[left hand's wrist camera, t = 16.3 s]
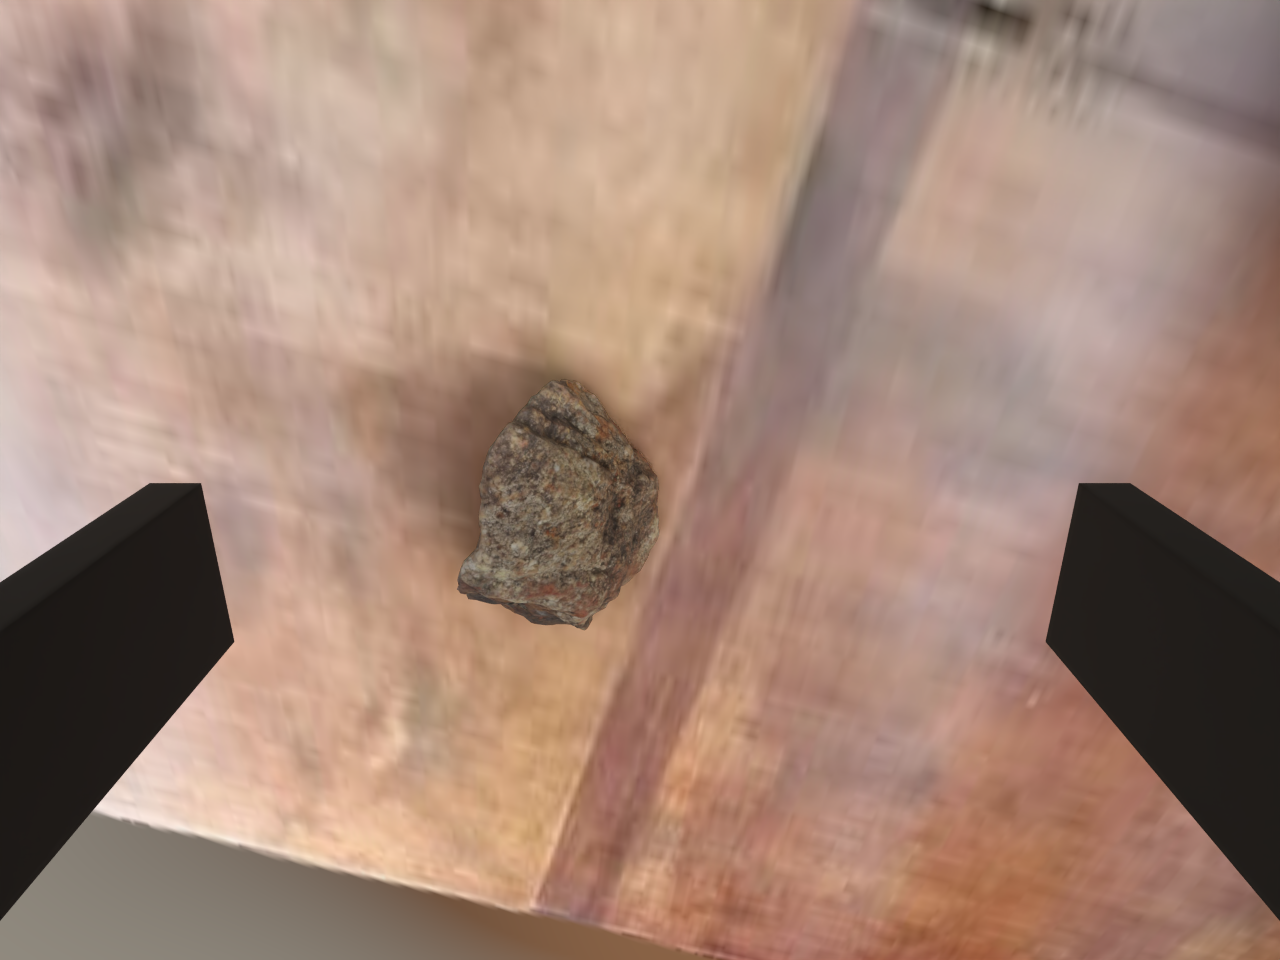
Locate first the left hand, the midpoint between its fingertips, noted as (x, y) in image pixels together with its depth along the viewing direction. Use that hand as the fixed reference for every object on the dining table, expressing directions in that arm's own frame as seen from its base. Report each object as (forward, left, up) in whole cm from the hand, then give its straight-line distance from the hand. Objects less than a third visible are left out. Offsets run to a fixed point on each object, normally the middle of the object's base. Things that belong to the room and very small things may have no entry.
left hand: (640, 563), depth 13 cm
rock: (+2, +12, -30) cm, 33 cm away
